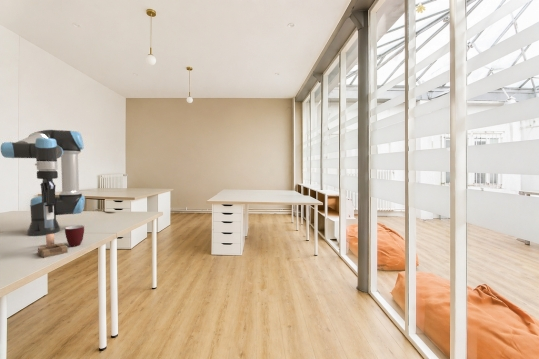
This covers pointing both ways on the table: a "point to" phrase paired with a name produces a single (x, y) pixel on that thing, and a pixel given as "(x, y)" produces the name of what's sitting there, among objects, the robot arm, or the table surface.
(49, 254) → the socket block
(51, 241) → the short peg
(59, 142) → the robot arm
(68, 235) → the mug
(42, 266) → the table surface
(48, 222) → the long peg
